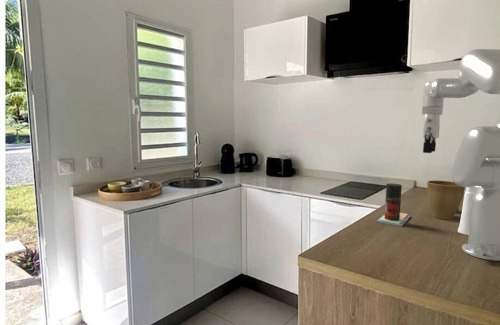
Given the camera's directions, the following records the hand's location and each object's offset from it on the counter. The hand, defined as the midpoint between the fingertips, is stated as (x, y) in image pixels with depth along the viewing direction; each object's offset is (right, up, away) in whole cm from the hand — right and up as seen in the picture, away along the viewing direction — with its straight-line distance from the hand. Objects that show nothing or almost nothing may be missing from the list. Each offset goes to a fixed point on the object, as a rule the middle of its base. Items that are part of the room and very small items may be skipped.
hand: (429, 152), depth 139 cm
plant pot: (+12, -30, +10) cm, 33 cm away
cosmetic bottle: (+8, -32, -11) cm, 35 cm away
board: (-13, -30, +5) cm, 33 cm away
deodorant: (-15, -29, +1) cm, 33 cm away
